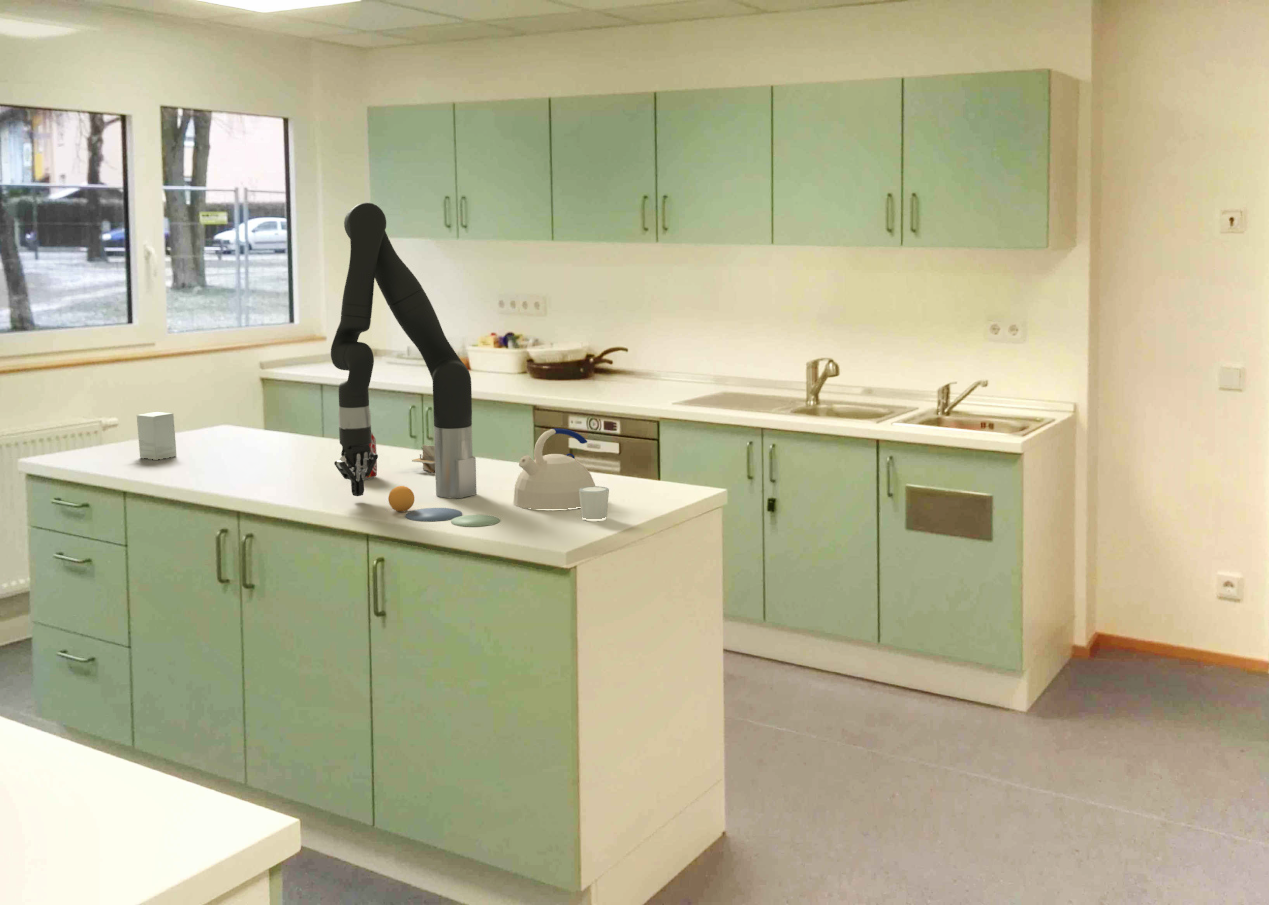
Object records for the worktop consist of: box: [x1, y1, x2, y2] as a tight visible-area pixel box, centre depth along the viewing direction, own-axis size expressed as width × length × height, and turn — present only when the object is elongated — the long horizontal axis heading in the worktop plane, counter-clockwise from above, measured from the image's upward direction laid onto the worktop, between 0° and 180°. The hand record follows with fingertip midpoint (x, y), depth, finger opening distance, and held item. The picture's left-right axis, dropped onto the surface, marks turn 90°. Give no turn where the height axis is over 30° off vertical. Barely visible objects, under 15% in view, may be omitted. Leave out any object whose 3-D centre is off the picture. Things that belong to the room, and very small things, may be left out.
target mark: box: [404, 507, 463, 522], centre depth 302 cm, size 13×13×1 cm
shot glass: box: [579, 485, 610, 519], centre depth 297 cm, size 7×7×7 cm
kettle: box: [512, 428, 596, 509], centre depth 314 cm, size 20×21×18 cm
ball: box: [387, 485, 415, 513], centre depth 305 cm, size 6×6×6 cm
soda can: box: [364, 431, 378, 481], centre depth 343 cm, size 7×7×12 cm
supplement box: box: [136, 411, 177, 461], centre depth 373 cm, size 7×7×13 cm
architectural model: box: [411, 444, 435, 473], centre depth 351 cm, size 3×7×7 cm, turn 61°
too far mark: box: [450, 514, 501, 528], centre depth 296 cm, size 11×11×1 cm
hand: (357, 495), depth 316 cm, fingers closed
